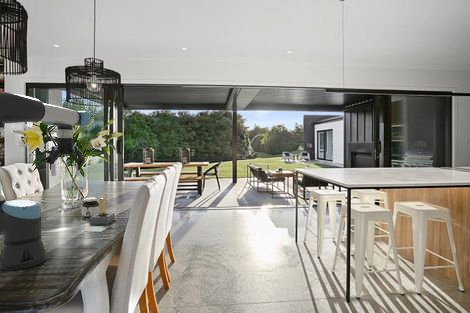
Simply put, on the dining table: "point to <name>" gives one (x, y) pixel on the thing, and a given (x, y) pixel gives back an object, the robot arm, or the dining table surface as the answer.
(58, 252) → the dining table surface
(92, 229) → the mat
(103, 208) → the plug
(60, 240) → the dining table surface
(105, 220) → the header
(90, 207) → the spread jar
